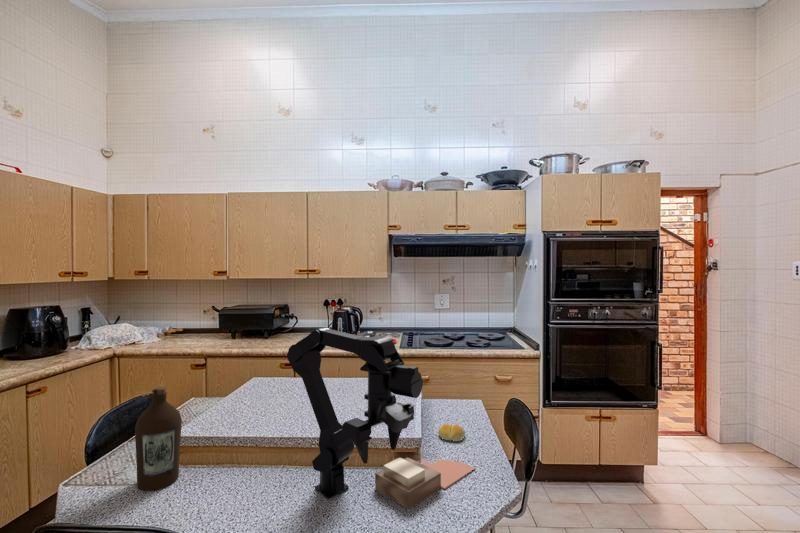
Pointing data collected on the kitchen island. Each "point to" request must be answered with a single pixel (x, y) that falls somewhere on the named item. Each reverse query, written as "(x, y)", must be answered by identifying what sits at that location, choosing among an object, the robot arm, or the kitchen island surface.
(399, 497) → the panel
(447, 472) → the mat
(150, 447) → the olive oil
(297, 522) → the kitchen island surface
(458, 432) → the bread roll
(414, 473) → the cream rectangular block
